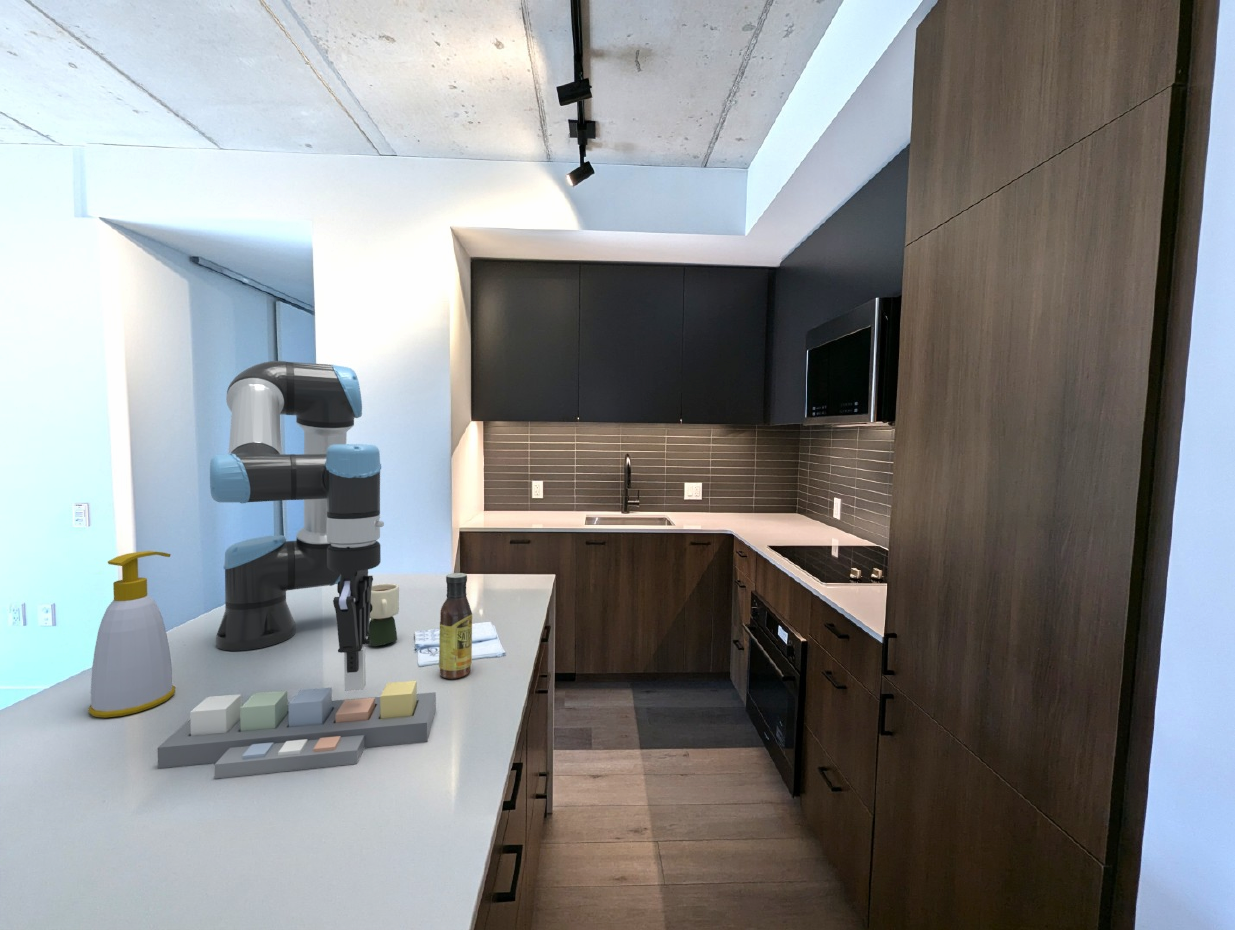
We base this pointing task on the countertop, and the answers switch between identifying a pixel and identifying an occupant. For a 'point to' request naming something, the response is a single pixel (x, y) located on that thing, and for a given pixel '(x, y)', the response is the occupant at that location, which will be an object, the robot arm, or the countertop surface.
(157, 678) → the soap bottle
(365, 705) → the key terracotta
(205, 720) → the key white
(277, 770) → the keypad
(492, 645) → the folded patterned cloth
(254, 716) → the key sage
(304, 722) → the key slate
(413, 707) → the key mustard
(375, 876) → the countertop surface
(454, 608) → the sauce bottle
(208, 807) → the countertop surface
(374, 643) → the character mug
